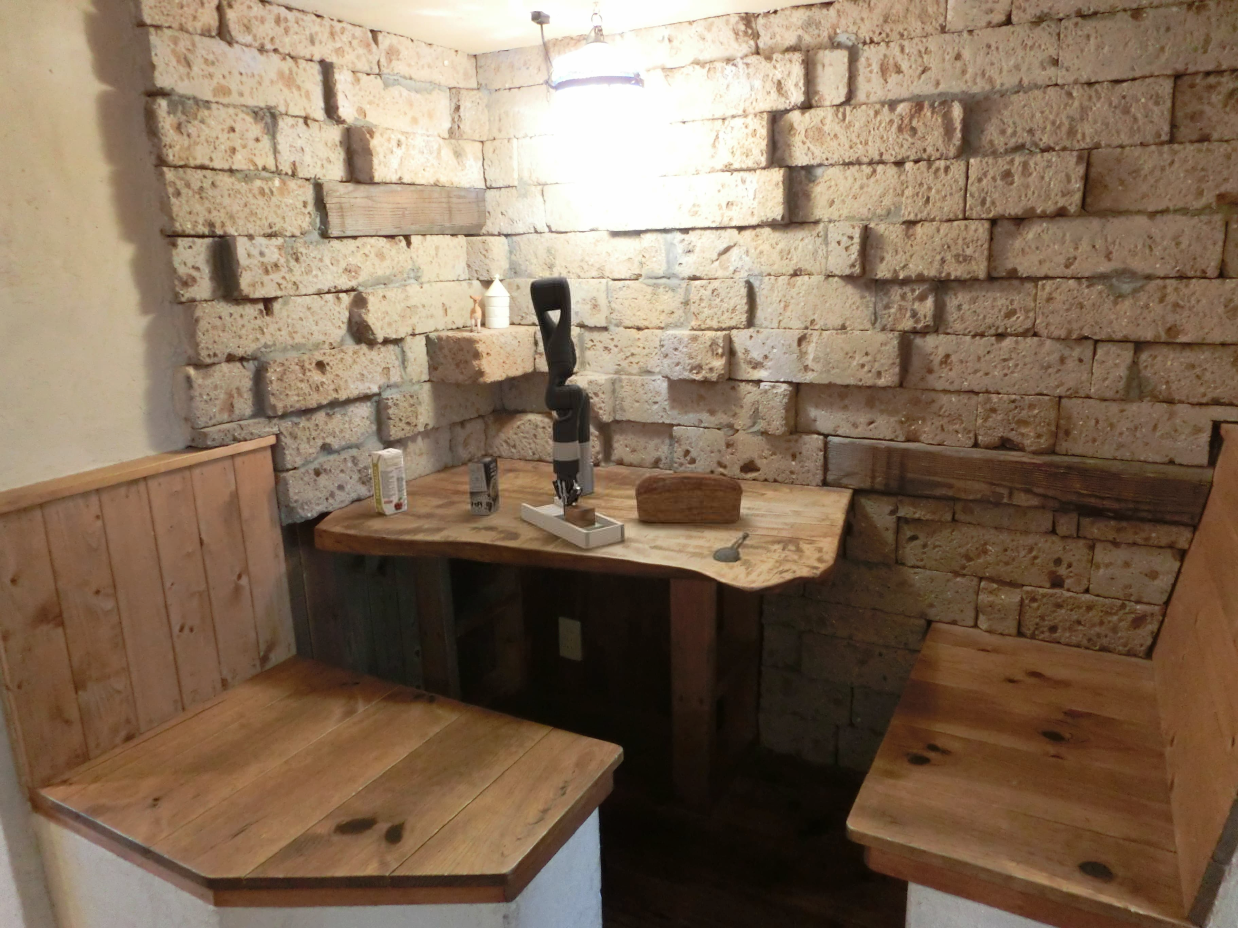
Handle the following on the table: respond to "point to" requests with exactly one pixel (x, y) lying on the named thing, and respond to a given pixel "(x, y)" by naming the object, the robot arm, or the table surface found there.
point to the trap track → (584, 537)
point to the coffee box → (484, 485)
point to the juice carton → (388, 481)
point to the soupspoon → (728, 552)
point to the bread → (688, 498)
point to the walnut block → (580, 515)
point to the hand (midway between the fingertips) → (568, 515)
